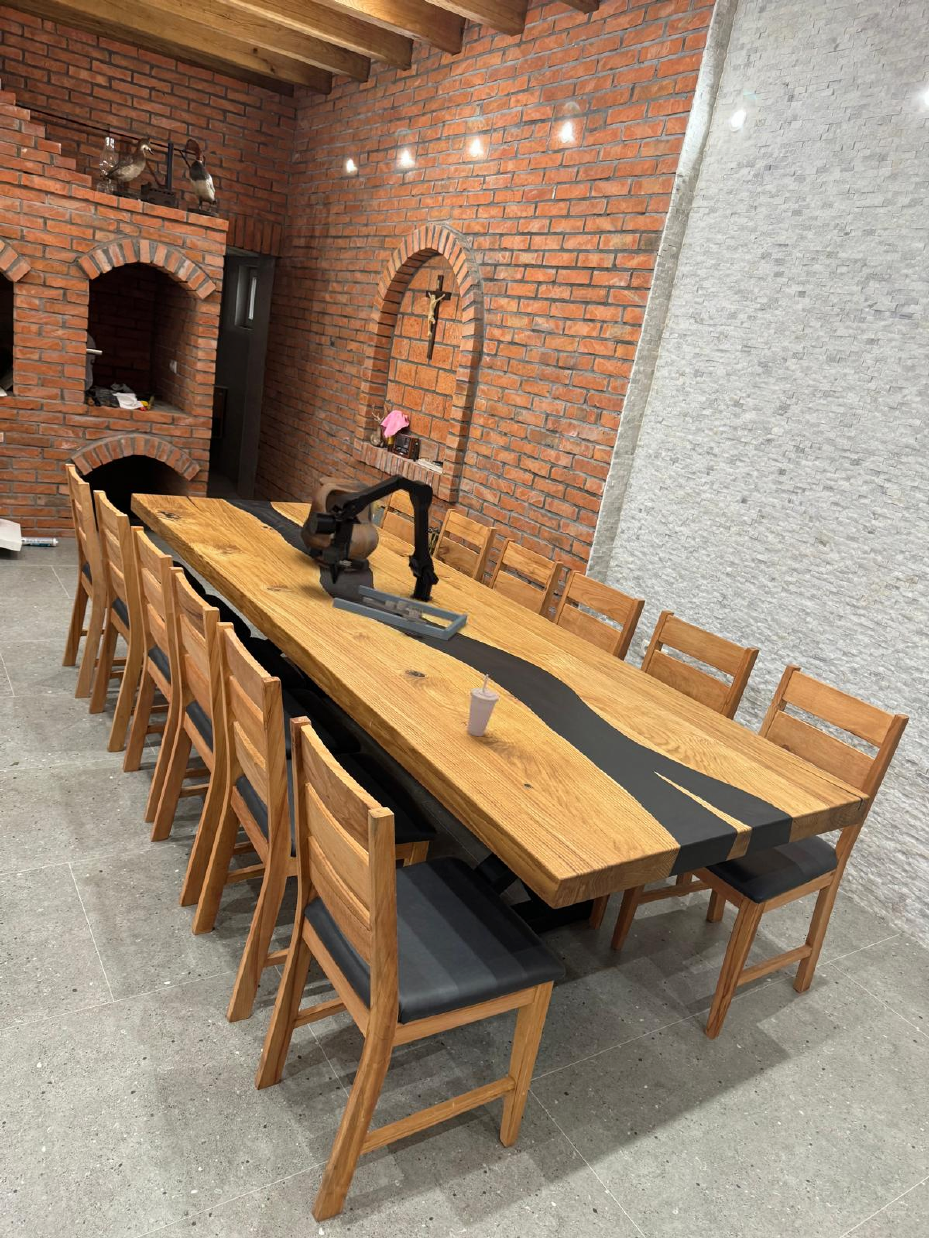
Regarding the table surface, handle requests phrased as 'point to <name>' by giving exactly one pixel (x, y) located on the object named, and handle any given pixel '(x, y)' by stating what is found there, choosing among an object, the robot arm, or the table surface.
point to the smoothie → (481, 709)
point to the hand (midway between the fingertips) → (334, 583)
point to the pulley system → (400, 609)
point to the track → (400, 621)
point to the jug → (326, 497)
